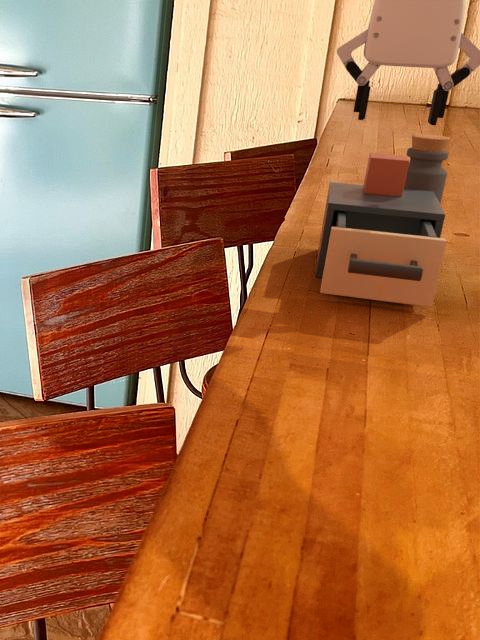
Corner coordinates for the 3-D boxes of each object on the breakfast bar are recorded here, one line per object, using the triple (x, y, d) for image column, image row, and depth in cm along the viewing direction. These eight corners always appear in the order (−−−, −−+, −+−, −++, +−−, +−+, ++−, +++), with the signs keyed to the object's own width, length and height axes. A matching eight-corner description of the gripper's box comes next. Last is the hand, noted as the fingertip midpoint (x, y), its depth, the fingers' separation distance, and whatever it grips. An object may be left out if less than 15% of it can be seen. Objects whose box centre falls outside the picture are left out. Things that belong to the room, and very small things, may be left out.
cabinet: (428, 291, 103) (445, 214, 100) (315, 277, 107) (328, 202, 104) (418, 260, 116) (433, 191, 113) (318, 249, 120) (329, 182, 117)
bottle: (434, 245, 124) (458, 136, 118) (426, 254, 120) (451, 140, 114) (390, 238, 127) (412, 131, 121) (381, 246, 123) (403, 136, 117)
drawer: (436, 321, 90) (452, 252, 88) (319, 306, 94) (331, 238, 91) (421, 274, 107) (435, 215, 104) (322, 263, 110) (332, 204, 107)
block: (402, 196, 109) (409, 160, 107) (363, 193, 110) (370, 157, 108) (399, 190, 113) (407, 155, 111) (363, 187, 114) (369, 152, 112)
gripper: (506, -34, 102) (470, 123, 109) (346, -37, 107) (321, 113, 114) (517, -37, 96) (478, 130, 102) (347, -40, 101) (320, 119, 107)
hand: (396, 120), depth 108 cm, fingers open, 7 cm apart
